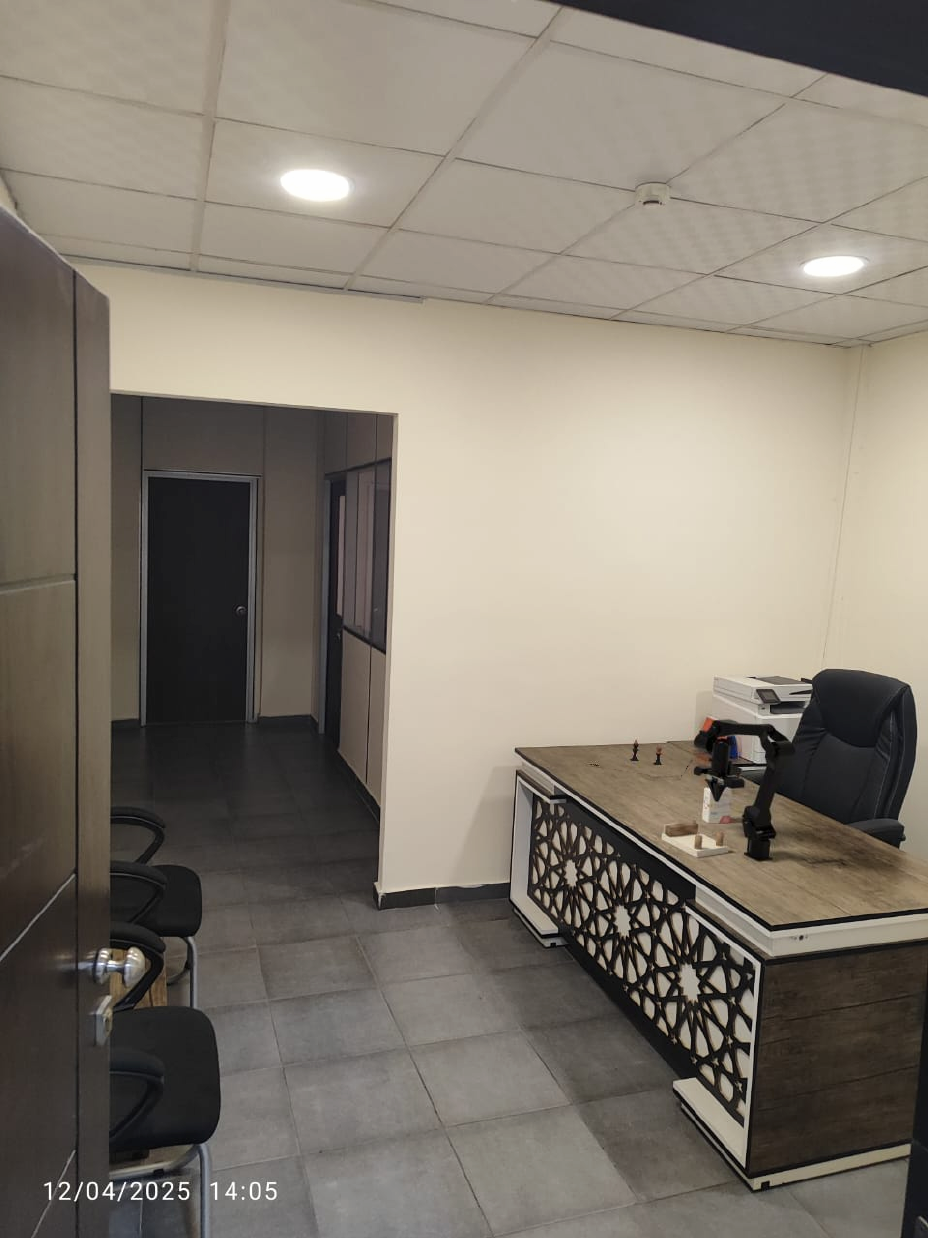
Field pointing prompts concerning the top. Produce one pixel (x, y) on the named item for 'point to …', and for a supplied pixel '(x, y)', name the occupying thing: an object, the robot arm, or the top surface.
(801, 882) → the top surface
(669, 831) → the hinged leg
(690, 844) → the white peg board
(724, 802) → the ink cartridge box
